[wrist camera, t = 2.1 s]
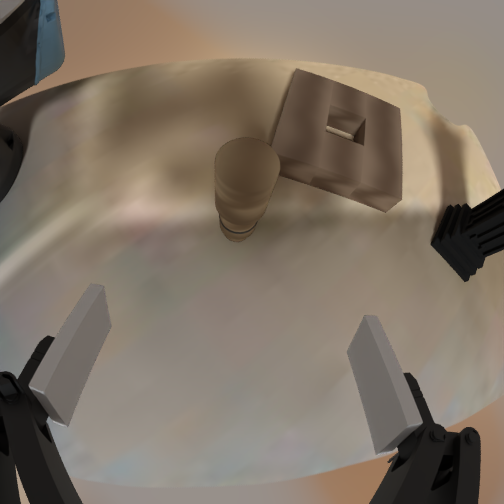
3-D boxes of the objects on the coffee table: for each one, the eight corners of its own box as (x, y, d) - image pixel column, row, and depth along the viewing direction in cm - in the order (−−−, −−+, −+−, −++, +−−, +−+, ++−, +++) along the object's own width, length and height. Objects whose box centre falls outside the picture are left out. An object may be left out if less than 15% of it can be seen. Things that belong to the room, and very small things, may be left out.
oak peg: (210, 242, 31) (205, 181, 19) (222, 205, 32) (226, 131, 20) (250, 254, 31) (271, 200, 19) (261, 217, 32) (286, 147, 20)
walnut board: (264, 170, 34) (269, 151, 30) (290, 87, 39) (296, 68, 35) (385, 212, 35) (401, 199, 31) (388, 124, 39) (399, 108, 35)
